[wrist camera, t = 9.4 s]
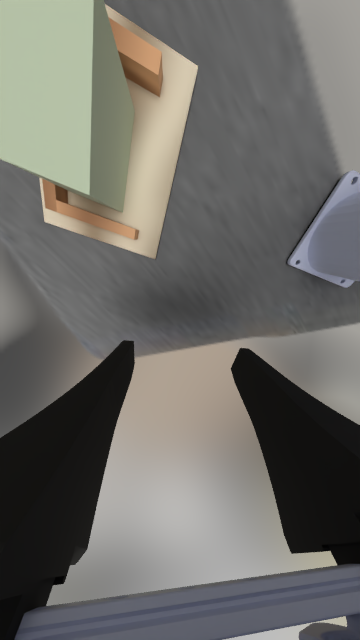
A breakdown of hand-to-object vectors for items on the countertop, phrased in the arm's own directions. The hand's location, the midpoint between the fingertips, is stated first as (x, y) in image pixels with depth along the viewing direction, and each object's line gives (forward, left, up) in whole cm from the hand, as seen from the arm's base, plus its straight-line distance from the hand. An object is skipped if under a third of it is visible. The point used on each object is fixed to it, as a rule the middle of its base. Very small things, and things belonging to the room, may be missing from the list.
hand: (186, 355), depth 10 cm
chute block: (+10, -10, -9) cm, 16 cm away
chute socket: (+9, -10, -9) cm, 16 cm away
